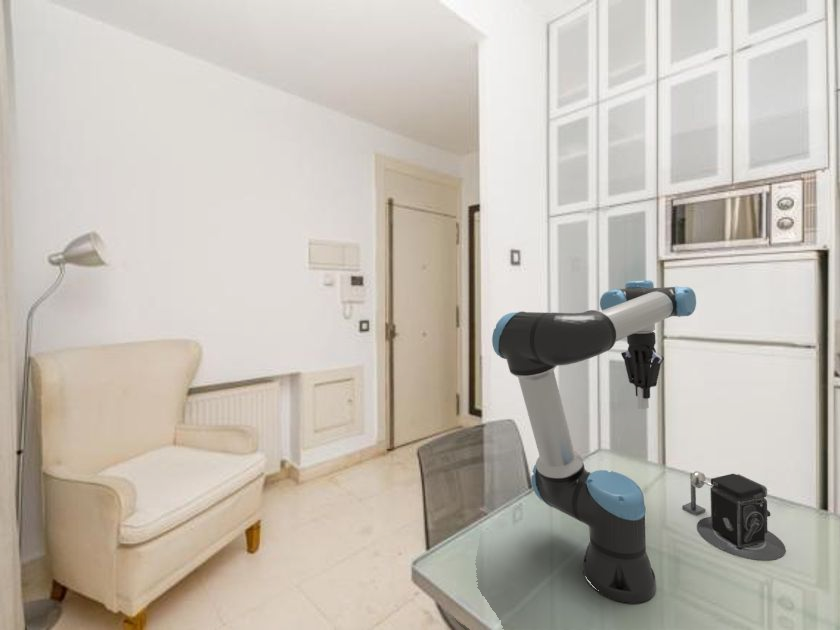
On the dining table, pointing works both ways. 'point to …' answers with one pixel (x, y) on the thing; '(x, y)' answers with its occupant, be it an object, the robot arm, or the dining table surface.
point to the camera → (739, 509)
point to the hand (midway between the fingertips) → (643, 407)
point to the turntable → (761, 551)
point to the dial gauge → (698, 482)
